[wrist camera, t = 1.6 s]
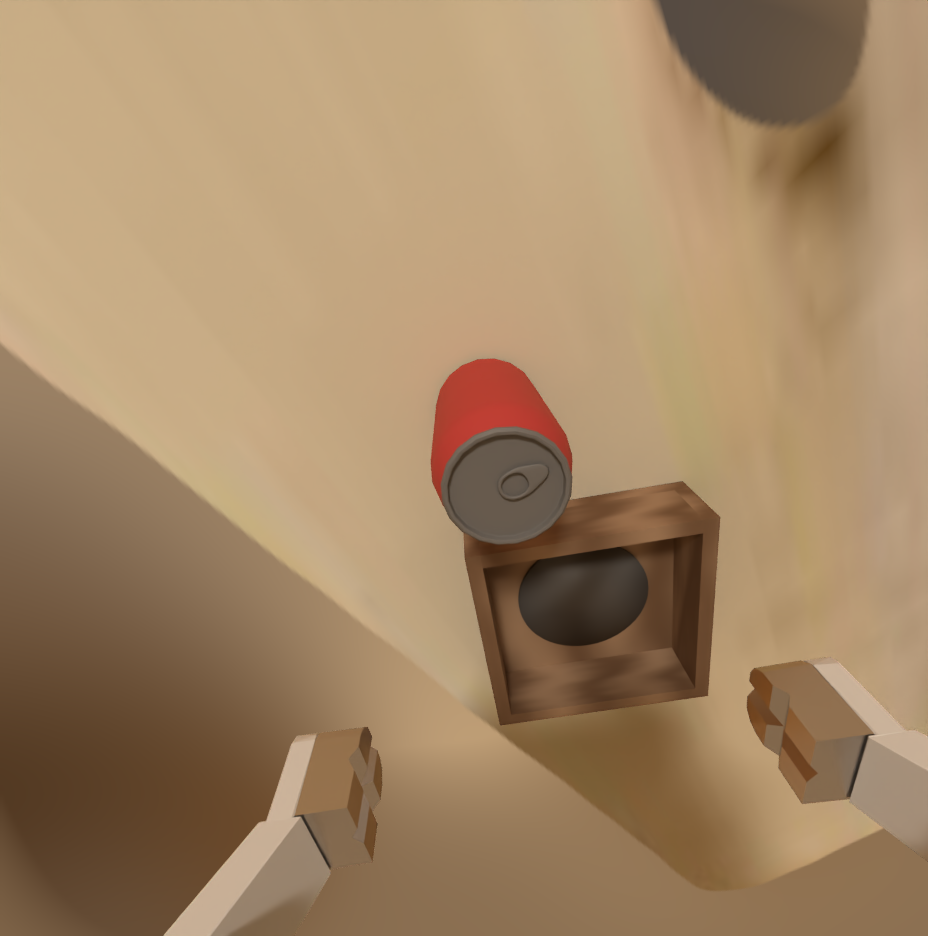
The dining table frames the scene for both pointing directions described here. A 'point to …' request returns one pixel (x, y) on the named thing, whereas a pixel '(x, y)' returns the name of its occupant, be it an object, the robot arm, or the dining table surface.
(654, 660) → the walnut box
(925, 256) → the dining table surface
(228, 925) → the robot arm
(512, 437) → the beer can
